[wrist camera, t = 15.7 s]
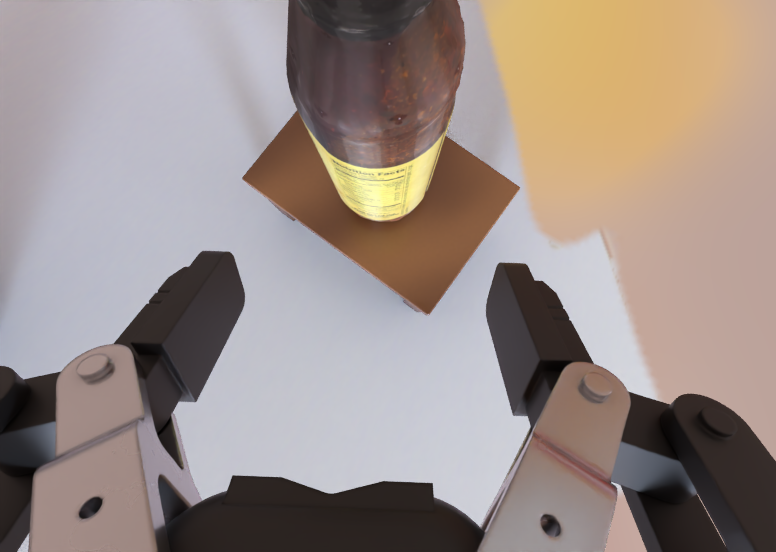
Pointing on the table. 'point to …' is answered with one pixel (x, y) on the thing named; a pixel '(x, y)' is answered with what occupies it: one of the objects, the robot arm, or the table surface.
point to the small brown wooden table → (389, 239)
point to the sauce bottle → (376, 93)
